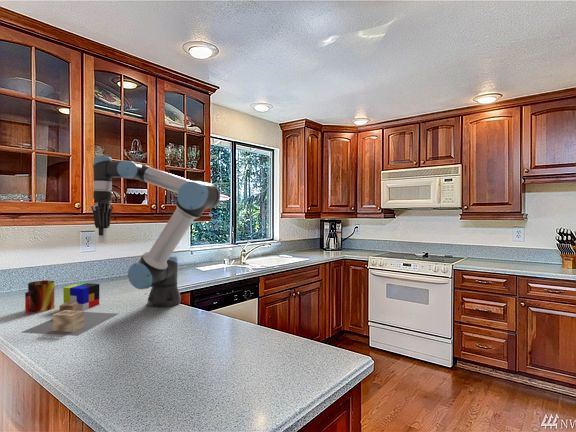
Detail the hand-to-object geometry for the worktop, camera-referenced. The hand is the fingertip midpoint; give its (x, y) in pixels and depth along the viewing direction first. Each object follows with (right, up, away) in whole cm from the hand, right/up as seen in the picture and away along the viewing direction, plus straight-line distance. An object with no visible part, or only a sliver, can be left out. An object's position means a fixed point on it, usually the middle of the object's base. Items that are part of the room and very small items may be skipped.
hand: (102, 242), depth 165 cm
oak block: (+2, -24, -30) cm, 38 cm away
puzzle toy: (-9, -30, -1) cm, 31 cm away
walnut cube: (-7, -30, -14) cm, 34 cm away
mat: (0, -30, -22) cm, 37 cm away
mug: (-23, -30, -7) cm, 38 cm away
